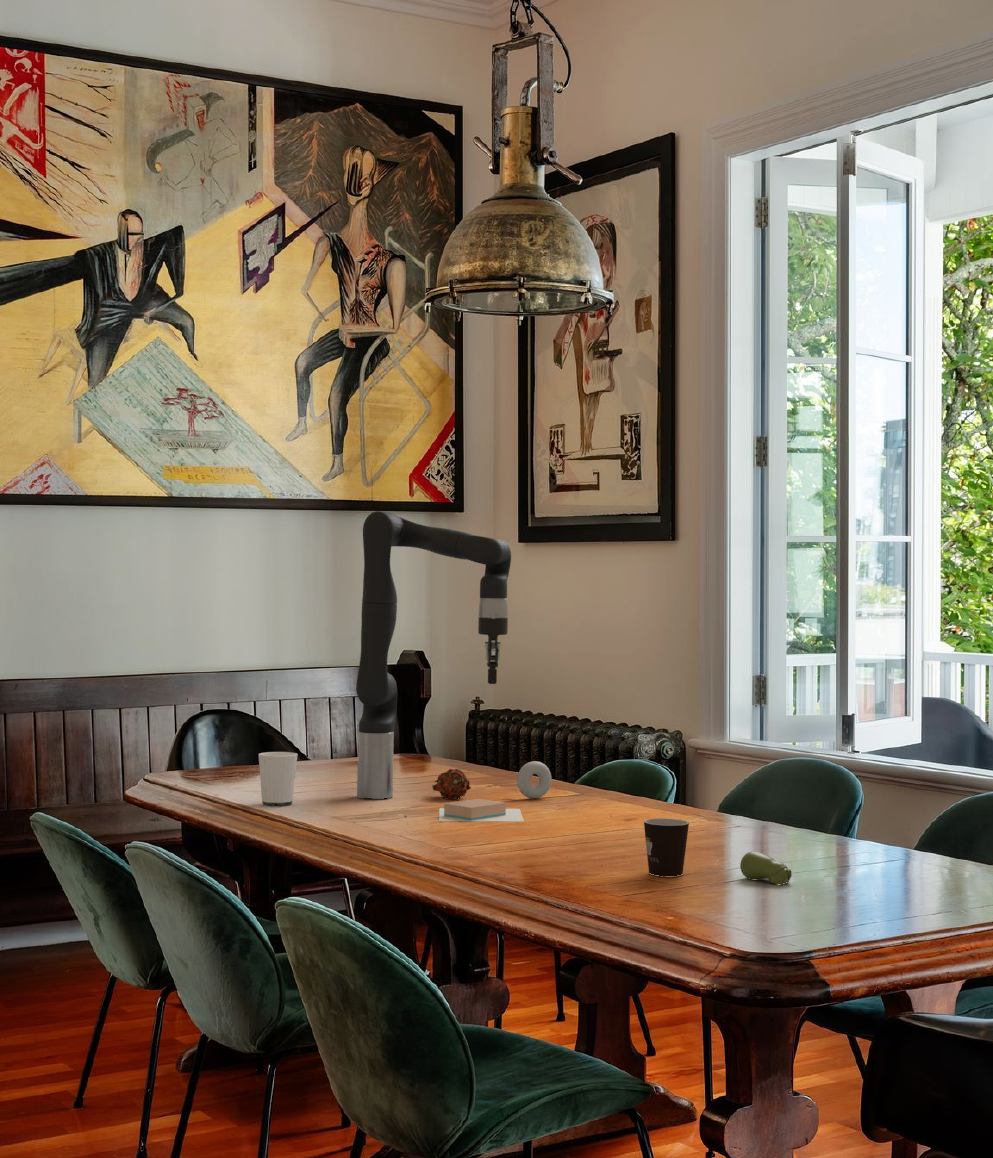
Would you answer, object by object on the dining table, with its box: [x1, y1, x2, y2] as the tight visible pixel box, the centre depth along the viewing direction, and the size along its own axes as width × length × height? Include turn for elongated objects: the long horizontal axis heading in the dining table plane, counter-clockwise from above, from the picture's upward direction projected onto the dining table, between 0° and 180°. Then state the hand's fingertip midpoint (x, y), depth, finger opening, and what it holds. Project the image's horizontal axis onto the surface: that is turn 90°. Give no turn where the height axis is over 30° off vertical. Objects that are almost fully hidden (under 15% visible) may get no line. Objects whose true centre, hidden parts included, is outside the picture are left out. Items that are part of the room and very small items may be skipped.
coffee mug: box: [643, 817, 690, 876], centre depth 263 cm, size 12×9×10 cm
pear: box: [739, 851, 793, 885], centre depth 256 cm, size 6×5×10 cm
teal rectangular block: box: [443, 798, 507, 820], centre depth 328 cm, size 3×9×12 cm
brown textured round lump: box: [432, 768, 472, 800], centre depth 360 cm, size 8×8×12 cm
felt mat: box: [438, 807, 525, 823], centre depth 330 cm, size 20×20×1 cm
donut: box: [516, 760, 552, 800], centre depth 361 cm, size 10×4×10 cm, turn 116°
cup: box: [258, 751, 298, 807], centre depth 345 cm, size 10×10×13 cm
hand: (492, 683), depth 349 cm, fingers closed
